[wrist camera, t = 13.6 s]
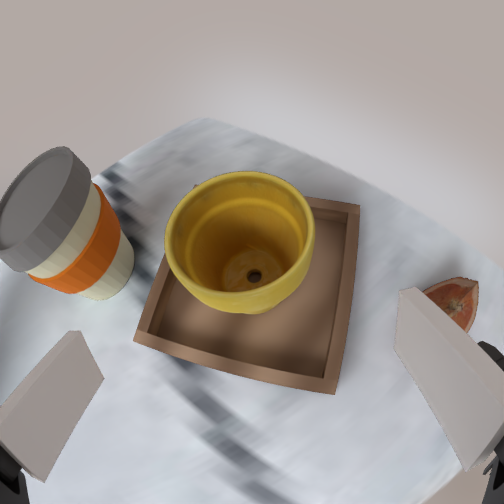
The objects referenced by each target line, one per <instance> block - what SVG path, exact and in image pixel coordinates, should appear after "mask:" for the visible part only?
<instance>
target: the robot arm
mask: <svg viewBox="0 0 504 504" xmlns="http://www.w3.org/2000/svg"><path fill="white" fill-rule="evenodd" d="M394 350H395V352H396V353H397V355H398V356H399V358H400V359H401V361H402V362H403V364H404V365H405V367H406V369H407V370H408V372H409V373H410V375H411V377H412V378H413V380H414V381H415V383H416V385H417V386H418V388H419V389H420V391H421V393H422V394H423V396H424V398H425V399H426V401H427V403H428V404H429V406H430V408H431V410H432V411H433V413H434V415H435V416H436V418H437V420H438V422H439V423H440V425H441V427H442V429H443V431H444V432H445V434H446V436H447V438H448V440H449V442H450V443H451V445H452V447H453V449H454V451H455V453H456V455H457V457H458V459H459V460H460V462H461V464H462V466H463V468H464V470H465V472H467V471H469V470H471V469H472V468H474V467H476V466H477V465H479V464H480V463H482V462H483V461H485V460H486V459H487V458H488V456H489V455H490V454H491V453H492V451H493V450H494V451H495V453H496V454H497V456H496V457H495V458H494V459H493V461H492V462H491V463H490V464H489V465H488V466H487V467H486V468H485V470H484V473H483V475H485V474H486V473H487V472H488V471H489V470H490V469H491V468H492V470H491V473H490V478H489V482H488V485H487V489H486V492H485V495H484V499H483V502H482V504H504V356H503V355H502V354H501V353H500V352H499V351H498V350H497V349H496V348H495V347H494V346H492V345H490V344H488V343H486V342H484V341H481V342H479V343H476V342H475V341H474V340H473V339H472V338H471V337H470V336H469V335H468V334H467V333H466V332H465V331H464V330H463V329H462V328H461V327H460V326H458V325H457V324H456V323H455V322H454V321H453V320H452V319H451V318H450V317H449V316H448V315H447V314H446V313H445V312H444V311H442V310H441V309H440V308H439V307H438V306H437V305H436V304H435V303H434V302H433V301H431V300H430V299H429V298H428V297H427V296H426V295H425V294H424V293H422V292H421V291H420V290H419V289H418V288H417V287H413V288H408V289H404V290H400V291H399V301H398V314H397V325H396V334H395V343H394ZM103 380H104V377H103V375H102V373H101V371H100V369H99V368H98V366H97V364H96V362H95V360H94V358H93V356H92V354H91V352H90V350H89V348H88V346H87V344H86V342H85V339H84V337H83V335H82V333H81V331H68V332H67V333H66V334H65V335H64V336H63V337H62V339H61V340H60V341H59V342H58V343H57V344H56V345H55V346H54V347H53V348H52V349H51V350H50V351H49V352H48V353H47V354H46V355H45V356H44V358H43V359H42V360H41V361H40V362H39V363H38V364H37V365H36V366H35V367H34V368H33V370H32V371H31V372H30V373H29V374H28V375H27V376H26V377H25V379H24V380H23V381H22V382H21V383H20V384H19V386H18V387H17V388H16V389H15V390H14V391H13V393H12V394H11V395H10V396H9V397H8V399H7V400H6V401H5V402H4V403H3V405H2V406H1V407H0V504H30V503H29V498H28V492H27V486H26V479H25V476H24V474H23V473H22V472H21V471H20V470H21V469H22V468H23V469H24V470H25V471H26V472H27V473H28V474H30V475H31V476H32V477H33V478H35V479H37V480H39V481H41V482H43V483H45V481H46V479H47V477H48V475H49V473H50V471H51V470H52V468H53V466H54V464H55V462H56V460H57V458H58V456H59V455H60V453H61V451H62V449H63V447H64V446H65V444H66V442H67V440H68V439H69V437H70V435H71V433H72V432H73V430H74V428H75V426H76V425H77V423H78V421H79V420H80V418H81V416H82V414H83V413H84V411H85V409H86V408H87V406H88V404H89V403H90V401H91V400H92V398H93V396H94V395H95V393H96V391H97V390H98V388H99V387H100V385H101V383H102V382H103Z"/></svg>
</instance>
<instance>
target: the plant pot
mask: <svg viewBox="0 0 504 504" xmlns="http://www.w3.org/2000/svg"><path fill="white" fill-rule="evenodd" d="M314 242H315V222H314V217H313V213H312V211H311V208H310V206H309V204H308V202H307V201H306V199H305V198H304V196H303V195H302V194H301V193H300V192H299V191H298V190H297V189H296V188H295V187H294V186H292V185H291V184H290V183H288V182H286V181H285V180H283V179H281V178H279V177H276V176H274V175H270V174H267V173H262V172H255V171H238V172H231V173H226V174H222V175H219V176H216V177H214V178H211V179H209V180H207V181H205V182H203V183H201V184H200V185H198V186H197V187H195V188H194V189H193V190H191V191H190V192H189V193H188V194H187V195H186V196H185V197H184V198H183V199H182V200H181V201H180V202H179V203H178V205H177V206H176V208H175V209H174V211H173V212H172V214H171V216H170V218H169V221H168V223H167V226H166V231H165V238H164V247H165V253H166V257H167V261H168V263H169V266H170V268H171V270H172V271H173V273H174V274H175V276H176V277H177V278H178V280H179V281H180V282H181V283H182V284H183V286H184V287H185V288H186V289H187V290H188V291H189V292H190V293H191V294H192V295H194V296H195V297H196V298H197V299H199V300H200V301H201V302H203V303H204V304H206V305H208V306H210V307H212V308H215V309H217V310H221V311H224V312H230V313H244V314H261V313H264V312H267V311H269V310H271V309H272V308H274V307H275V306H277V305H278V304H279V303H280V302H281V301H282V300H284V299H285V298H287V297H288V296H289V295H290V294H291V293H292V292H294V291H295V290H296V288H297V287H298V286H299V285H300V284H301V282H302V281H303V279H304V277H305V276H306V274H307V271H308V269H309V266H310V262H311V258H312V254H313V249H314ZM253 272H258V273H260V274H261V280H260V281H258V282H256V283H252V282H250V281H249V280H248V276H249V275H250V274H251V273H253Z"/></svg>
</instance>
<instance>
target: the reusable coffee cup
mask: <svg viewBox="0 0 504 504" xmlns="http://www.w3.org/2000/svg"><path fill="white" fill-rule="evenodd" d="M0 259H1V260H3V261H4V262H5V263H6V264H7V265H8V266H9V267H10V268H12V269H13V270H14V271H18V272H26V273H28V275H29V276H30V277H31V278H32V279H33V280H35V281H36V282H39V283H41V284H44V285H46V286H49V287H51V288H54V289H56V290H59V291H61V292H64V293H68V294H72V293H77V294H79V295H82V296H85V297H87V298H90V299H93V300H105V299H109V298H110V297H112V296H114V295H115V294H117V293H118V292H119V291H120V290H121V289H122V288H123V287H124V286H125V284H126V283H127V281H128V280H129V277H130V275H131V273H132V270H133V267H134V251H133V248H132V246H131V244H130V242H129V241H128V239H127V238H126V236H125V235H124V233H123V232H122V230H121V228H120V222H119V220H118V218H117V215H116V214H115V212H114V211H113V209H112V207H111V205H110V204H109V202H108V200H107V199H106V197H105V195H104V193H103V192H102V190H101V189H100V187H99V186H98V185H96V184H94V183H93V182H92V180H91V175H90V172H89V169H88V168H87V167H86V166H85V164H84V163H83V162H82V161H80V159H79V158H77V156H76V155H75V154H74V153H73V152H72V151H71V150H70V149H69V148H67V147H64V146H63V147H56V148H53V149H50V150H48V151H46V152H45V153H43V154H41V155H40V156H38V157H37V158H36V159H34V160H33V161H32V162H31V163H29V164H28V165H27V166H26V167H25V168H24V169H23V170H22V171H21V172H20V174H19V175H18V176H17V177H16V178H15V180H14V181H13V182H12V183H11V185H10V186H9V187H8V189H7V191H6V192H5V194H4V195H3V197H2V199H1V201H0Z"/></svg>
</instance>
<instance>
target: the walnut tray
mask: <svg viewBox="0 0 504 504" xmlns="http://www.w3.org/2000/svg"><path fill="white" fill-rule="evenodd" d="M197 186H198V185H195V186H194V188H195V187H197ZM194 188H193V189H194ZM304 198H305V199H306V201H307V202H308V204H309V206H310V208H311V211H312V213H313V217H314V222H315V242H314V249H313V254H312V258H311V262H310V266H309V269H308V271H307V274H306V276H305V277H304V279H303V281H302V282H301V284H300V285H299V286H298V287H297V288H296V290H295V291H294V292H292V293H291V294H290V295H289V296H288V297H287V298H285V299H284V300H282V301H281V302H280V303H279V304H278V305H277V306H275V307H274V308H272V309H271V310H269V311H267V312H264V313H261V314H244V313H230V312H224V311H221V310H217V309H215V308H212V307H210V306H208V305H206V304H204V303H203V302H201V301H200V300H199V299H197V298H196V297H195V296H194V295H192V294H191V293H190V292H189V291H188V290H187V289H186V288H185V287H184V286H183V284H182V283H181V282H180V281H179V280H178V278H177V277H176V276H175V274H174V273H173V271H172V270H171V268H170V266H169V263H168V261H167V257H166V253H165V254H164V257H163V259H162V262H161V264H160V267H159V269H158V272H157V274H156V277H155V280H154V282H153V285H152V287H151V290H150V293H149V296H148V298H147V301H146V304H145V307H144V309H143V312H142V315H141V318H140V321H139V324H138V327H137V330H136V333H135V336H134V339H133V341H134V342H137V343H139V344H142V345H145V346H147V347H150V348H153V349H155V350H158V351H161V352H163V353H166V354H169V355H172V356H175V357H178V358H181V359H184V360H187V361H190V362H193V363H196V364H200V365H203V366H206V367H209V368H213V369H216V370H220V371H223V372H227V373H231V374H234V375H238V376H242V377H246V378H250V379H254V380H258V381H263V382H267V383H271V384H276V385H281V386H286V387H291V388H296V389H301V390H307V391H312V392H319V393H325V394H332V395H335V392H336V388H337V383H338V378H339V374H340V369H341V364H342V359H343V354H344V348H345V343H346V337H347V331H348V325H349V318H350V311H351V304H352V296H353V288H354V280H355V271H356V260H357V249H358V236H359V219H360V205H356V204H350V203H344V202H338V201H332V200H325V199H319V198H312V197H305V196H304ZM248 280H249V281H250V282H252V283H256V282H258V281H260V280H261V274H260V273H258V272H253V273H251V274H250V275H249V276H248Z"/></svg>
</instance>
